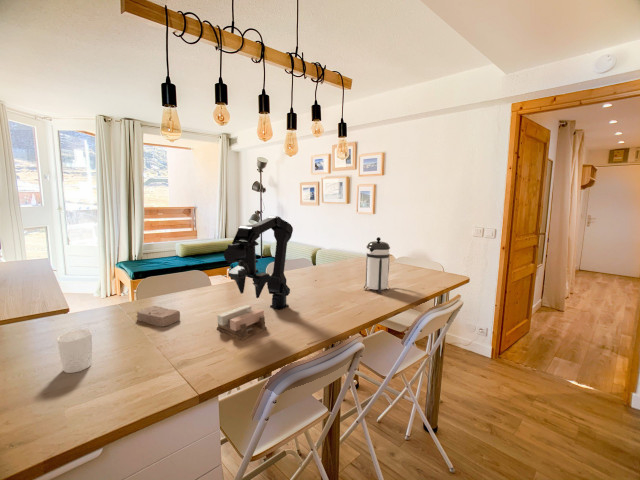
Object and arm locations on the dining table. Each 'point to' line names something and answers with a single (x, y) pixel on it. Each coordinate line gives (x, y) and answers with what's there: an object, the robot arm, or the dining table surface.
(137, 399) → the dining table surface
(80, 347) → the white cup
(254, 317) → the clay strip
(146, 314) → the brick
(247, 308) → the strip
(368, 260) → the coffee press
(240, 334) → the rack
